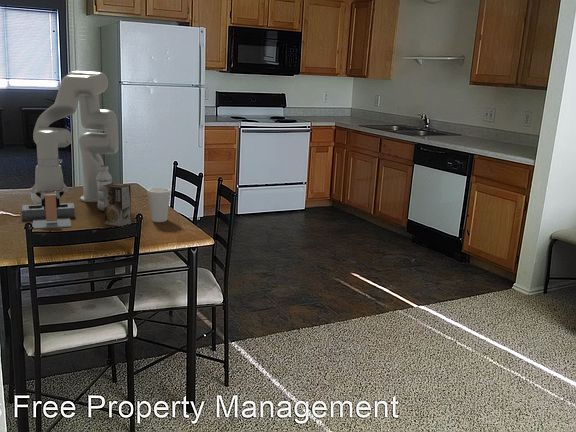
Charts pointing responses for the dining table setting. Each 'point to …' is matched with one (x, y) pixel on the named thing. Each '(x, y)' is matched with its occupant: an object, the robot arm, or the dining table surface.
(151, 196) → the foam cup
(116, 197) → the coffee box
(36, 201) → the lidded jar
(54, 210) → the plug
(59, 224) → the mat
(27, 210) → the socket plate
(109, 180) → the plastic bottle
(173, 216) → the dining table surface
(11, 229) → the dining table surface
